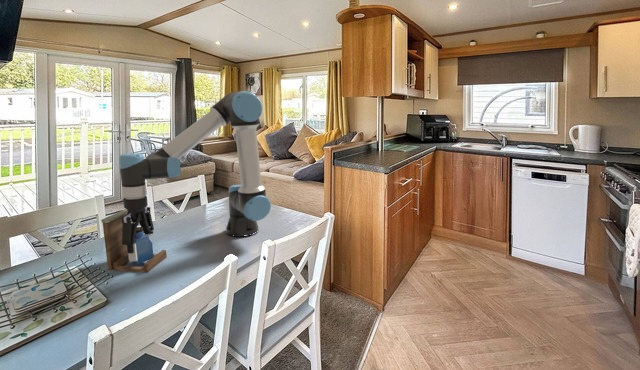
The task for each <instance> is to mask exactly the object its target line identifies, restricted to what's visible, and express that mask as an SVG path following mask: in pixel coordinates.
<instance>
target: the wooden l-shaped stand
mask: <svg viewBox="0 0 640 370" xmlns="http://www.w3.org/2000/svg"><path fill="white" fill-rule="evenodd" d="M127 212H128V210H127V209H125V208H124V209H122V210H121V211H119V212H116V213H114V214H112V215H109V216H107V217H104V218H102V219H101V220H100V221H101V224H102V230H103V236H104V237H103V238H104V239H103V240H104V246H105V254H106V262H107V270H108V271H118V272H133V273H134V272H137V273H150V271H152V270H153V269H154V268H155V267H156V266H158V265H159V264H160V263H162V262H163V261H164V260H166V258H167V256H168V255H167V254H168V253H167V250H166V249H162V250H160V251H159V252H158V253H153V258H151V259H150V260H147V261H145V262H144V264H143V266H129V265H128V264H129V263H130V262H132V261H129V260H128V252H127V245H122V217H126V216H127Z"/></svg>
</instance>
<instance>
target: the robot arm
mask: <svg viewBox="0 0 640 370" xmlns="http://www.w3.org/2000/svg"><path fill="white" fill-rule="evenodd" d="M262 113H263V104H262V101H261V99H260V98H259V97H258V96H257V95H256V94H255V93H254V92H251V91H248V90H242V91H240V90H239V91H233V92H229V93H226V95H224V96H223V97H222V98H221V99H219V101H217V102H215V103H214V104H213V105H212V106H211V107H210V108H209V111H208V112H207V113H206V114H205V115H204V114H203V116H201V118H199V119H198V120H196V121H195V122H194V123H192V124H191V125H190V126H189V127H187V128H186V129H184V130H183V131H181V132H180V133H179V134H178V135H177V136H175V137H174V138H172V139H171V140H169V141H168V142H167V143H166V144H165V145H163V146H162V147H161V148H159V149H158V150H156V151H155V152H151V153H149V154H148V155H147V156H146V158H145V157H144V154H142V153H139V152H138V153H137V152H136V153H135V152H133V153H128V152H127V153H123V154H121V155H119V159H118V160H119V172H120V179H121V180H120V182H121V188H122V189H121V190H122V196H123V198H122V199H123V207H124V210H125V209H127V210H128V212H127V216H126V217H122V245H127V249H128V255H129V261H131V262H132V261H137V260H138V259H137V250H136V244H135V243H134V241H135V235H136V229H137V227H143V231H144V234H143V235H144V236H147V237H148V238H149V240H150V241H151V242H152V237H151V236H152V235H153V234H154V230H155V228H154V224H153V219H152V214H151V207H150V206H148V197H147V193H148V192H147V184H146V180H158V179H159V180H160V179H167V178H168V179H172V178H177V177H180V176H181V169H182V168H181V162H180V160H179V159H181V158H182V157H183V156H185V155H186V154H187V153H188V152H190V151H191V150H192V149H194V148H195V147H196V146H197V145H198V144H200V143H202V142H203V141H204V140H205V139H207V138H208V137H209V136H210V135H211V134H213V133H214V132H216V131H217V130H218V129H220V128H221V127H222V126H223V127H226V126H227V125H228V124H230V127H231V128H232V129H233V130H234V132H235V141H236V149H237V157H238V161H237V162H238V169H239V178H240V183H239V184H235V185H230V186H229V187H228V191H227V192H228V193H227V194H228V206H229V207H228V209H229V212H228V213H229V216H228V217H229V218H228V220H227V223H226V228H225V233H226V232H227V233H228V234H230V235H234V236H244V235H250V234H253V233H255V232H257V231H258V232H259V223H258V222H257V221H261V220H263V219H265V218H266V217H267V216H268V215H269V214H270V211H271V208H272V204H271V200H270V199H269V198H268V197H267V193H266V187H265V186H264V185H263V184H262V177H261V167H260V155H259V145H258V135H257V129H258V127H259V126H260V125H261V124H260V117H261V115H262ZM258 232H257V233H258ZM227 233H226V234H227ZM228 234H227V235H228ZM230 235H229V236H230ZM234 236H233V237H234Z"/></svg>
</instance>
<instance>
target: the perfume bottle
mask: <svg viewBox="0 0 640 370" xmlns="http://www.w3.org/2000/svg"><path fill="white" fill-rule="evenodd" d="M143 234H144V231H143V227H141V226H137V229H136V235H135V241H134V243H135V244H136V250H137V259H138V260H137V261H131V262H133V263H134V264H136V265H138V264H141V263H145V262H147V261H149V260H150V259H151V258H153V254H154V247H153V242H152V240H151V241H150V240H149V238H148V237H147V236H144V235H143ZM127 252H128V249H127ZM128 260H129V255H128Z"/></svg>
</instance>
